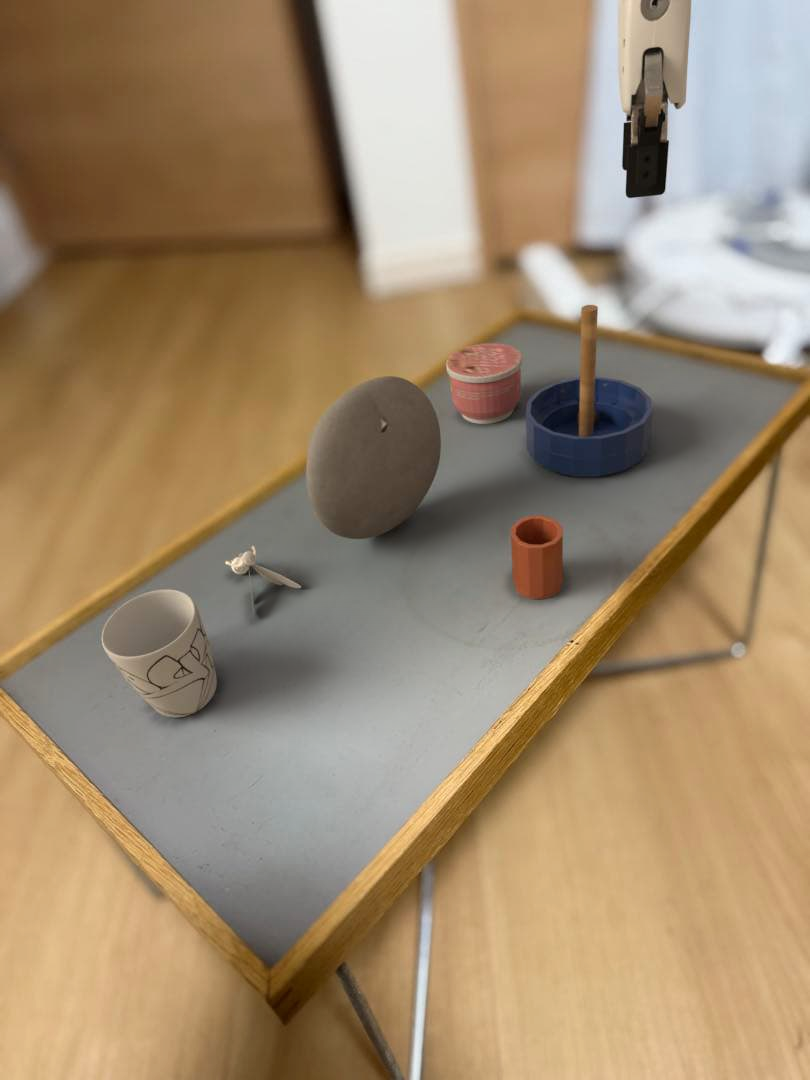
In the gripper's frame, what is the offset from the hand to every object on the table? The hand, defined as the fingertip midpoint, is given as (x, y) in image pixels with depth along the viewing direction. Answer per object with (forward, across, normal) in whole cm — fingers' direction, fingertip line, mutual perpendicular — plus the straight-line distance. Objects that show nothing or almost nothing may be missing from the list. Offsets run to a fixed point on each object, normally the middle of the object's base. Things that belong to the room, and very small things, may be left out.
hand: (642, 181), depth 64 cm
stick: (+33, +8, +5) cm, 34 cm away
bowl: (+33, +8, +5) cm, 35 cm away
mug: (+33, -34, +43) cm, 64 cm away
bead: (+31, +12, +4) cm, 34 cm away
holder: (+34, -18, +9) cm, 39 cm away
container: (+33, +18, +19) cm, 42 cm away
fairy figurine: (+33, -20, +40) cm, 56 cm away
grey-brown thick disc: (+33, -9, +28) cm, 44 cm away
